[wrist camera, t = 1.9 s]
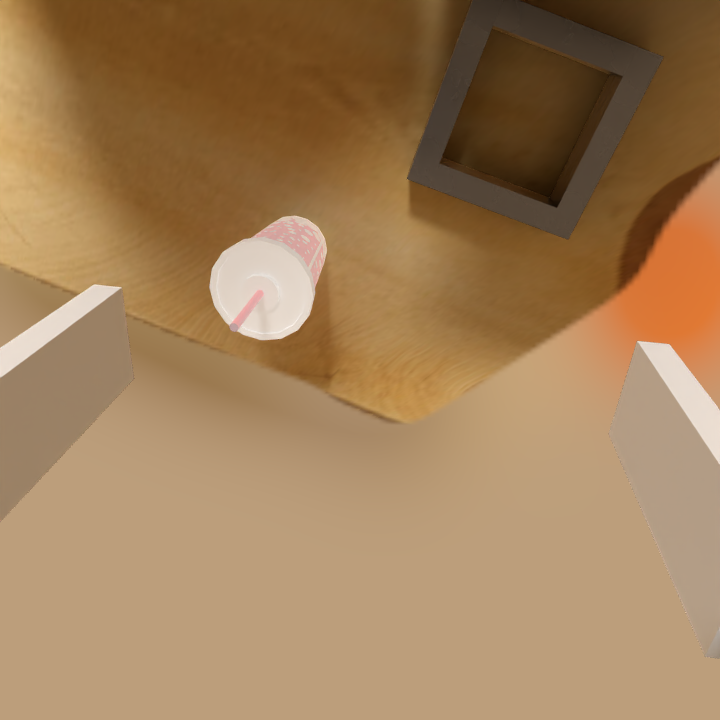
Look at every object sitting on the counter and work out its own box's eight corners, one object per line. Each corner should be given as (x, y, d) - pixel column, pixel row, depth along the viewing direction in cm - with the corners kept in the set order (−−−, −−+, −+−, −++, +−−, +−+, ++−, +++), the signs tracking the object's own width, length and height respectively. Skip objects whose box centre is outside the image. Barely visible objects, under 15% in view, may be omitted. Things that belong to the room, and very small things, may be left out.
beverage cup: (239, 219, 42) (153, 288, 30) (319, 192, 41) (265, 253, 28) (272, 298, 44) (206, 392, 32) (349, 275, 43) (311, 365, 31)
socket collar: (409, 170, 39) (406, 179, 36) (475, -11, 34) (478, -16, 32) (559, 227, 40) (568, 239, 37) (646, 56, 35) (663, 56, 32)
